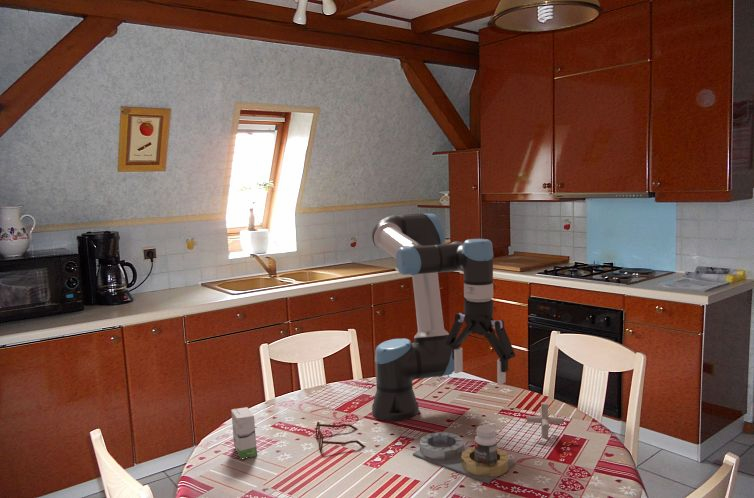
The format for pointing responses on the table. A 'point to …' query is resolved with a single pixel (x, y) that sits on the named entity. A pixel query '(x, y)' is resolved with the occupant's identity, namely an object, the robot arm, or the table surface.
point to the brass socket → (484, 464)
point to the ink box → (244, 432)
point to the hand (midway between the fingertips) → (479, 377)
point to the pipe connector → (544, 419)
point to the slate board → (457, 463)
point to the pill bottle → (485, 445)
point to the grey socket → (441, 453)
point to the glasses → (331, 441)
